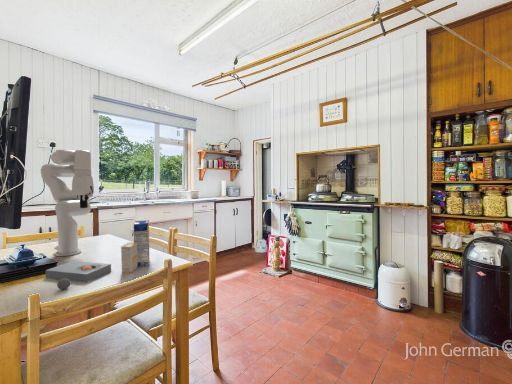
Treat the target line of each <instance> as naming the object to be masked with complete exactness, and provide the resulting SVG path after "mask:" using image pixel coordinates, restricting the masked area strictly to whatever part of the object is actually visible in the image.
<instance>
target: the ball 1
mask: <svg viewBox="0 0 512 384" xmlns="http://www.w3.org/2000/svg"><path fill="white" fill-rule="evenodd" d="M71 283H72V281H70V280H69V279H67V278H63V279H58V282H57V284H56V288H58V289H59V290H66V289H67V290H68V288H70V286H71Z"/></svg>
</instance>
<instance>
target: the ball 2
mask: <svg viewBox="0 0 512 384" xmlns="http://www.w3.org/2000/svg"><path fill="white" fill-rule="evenodd" d="M90 269H92V267H91V266H85V267H83V268H82V270H90Z"/></svg>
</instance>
